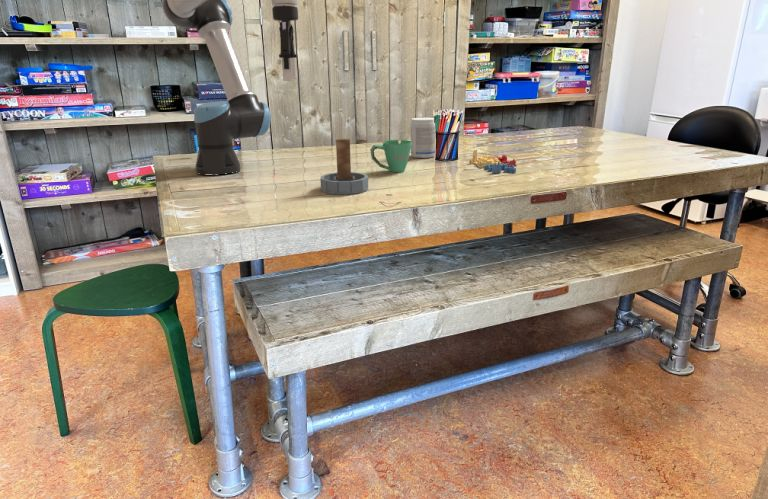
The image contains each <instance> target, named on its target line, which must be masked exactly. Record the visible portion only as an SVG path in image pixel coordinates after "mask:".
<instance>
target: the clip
mask: <svg viewBox="0 0 768 499" xmlns="http://www.w3.org/2000/svg"><path fill="white" fill-rule="evenodd" d="M353 180H355V176H351V179H338V178H337V176H335V177H334V181H353Z"/></svg>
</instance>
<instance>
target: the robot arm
mask: <svg viewBox="0 0 768 499" xmlns="http://www.w3.org/2000/svg"><path fill="white" fill-rule="evenodd" d="M271 4H272V5H273V6H272V9H271V10H272V20H274V21H278V22H279V30H278V31H279V40H280V41H279V42H280V52H279V54H278V58H279V59H281V67H282V69H281V70H282V71H281V72H282V81H283V82H292V81H293V80H296V79H297V77H296V76H297V73H296V58H297V57H298V56H297V54H296V51H295V44H294V26H293V24H291V22H292V21H293V22H294V21H298V20H299V13H298V12H299V9H298V7H297V5H298V0H271ZM162 10H163V13H164V14H165V16H166V18H167V19H168V20H169V21H170V22H171V23H172V24H173V25H175V26H177V27H179V28H183V29H193V30H194V29H196V31H197V34H198V36H199V38H201V39H202V40H204V41H205V43H206V46H207V48H208V50H209V54H210V56H211V59H212V61H213V64H214V67H215V69H216V72H217V75H218V78H219V80H220V83H221V86H222V88H223V91H224V94H225V96H226V99H227V100H218V101H211V102H206V103H201V104H199V105H196V107H195V108H194V109H193V118H194V119H193V122H194V125H195V132H196V140H197V148H198V149H197V150H198V152H197V157H196V162H195V166H194V167H195V173H196V172H197V173H200V174H225V173H232V172H236V171H239V170H240V169H241V162H240V160H239V158H238V155H237V154H236V151H235V149H234V142H233V140H237V139H246V138H256V137H260V136H265V134H266V133H268V131H269V129H270V127H271V126H270V125H271V118H272V117H271V112H270V107H269V106H268V104H267V103H265V102H262V101H259V98H258V96H257V94H256V93H253V92H251V90H250V86H249V84H248V82H247V78H246V76H245V73H244V71H243V67H242V66H241V63H240V61H239V60H240V59H239V58H238V55H237V52H236V50H235V47H234V45H233V43H232V40H231V37H230V34H229V33H230V31H231V26H232V23H233V16H232V15H233V12H232V11H233V10H232V8H231V6H230V3H229V2H228V1H227V0H162ZM241 170H242V169H241ZM239 172H240V171H239ZM197 173H196V174H197ZM236 173H237V172H236ZM232 174H233V173H232Z"/></svg>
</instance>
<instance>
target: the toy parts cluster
mask: <svg viewBox="0 0 768 499" xmlns="http://www.w3.org/2000/svg"><path fill="white" fill-rule="evenodd" d="M469 163H472V164H473V165H475V166H477V167H478V168H481V169H484V170H485V171H487V172H488V173H492V174H494V175H495V174H502V171H503V172H504V173H506V174H507V173H510V174H516V173H517V168H516V167H517V161H516V160H515V158H513V159H512V160H508V157H507V155H505V154H502V155H501V156H498V155H497V156H494V157H492V156H491V155H486V154H482V155H481V156H478V149H474V150H473V151H472V158H469Z"/></svg>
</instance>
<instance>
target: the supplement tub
mask: <svg viewBox="0 0 768 499" xmlns="http://www.w3.org/2000/svg"><path fill="white" fill-rule="evenodd" d="M434 118H435V117H414V118H413V117H412V118H411V119H410V141H411V142H412V145H411V150H410V155H411V157H412V158H415V159H430V158H434V157H435V156H436V122H435V123H434Z"/></svg>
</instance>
